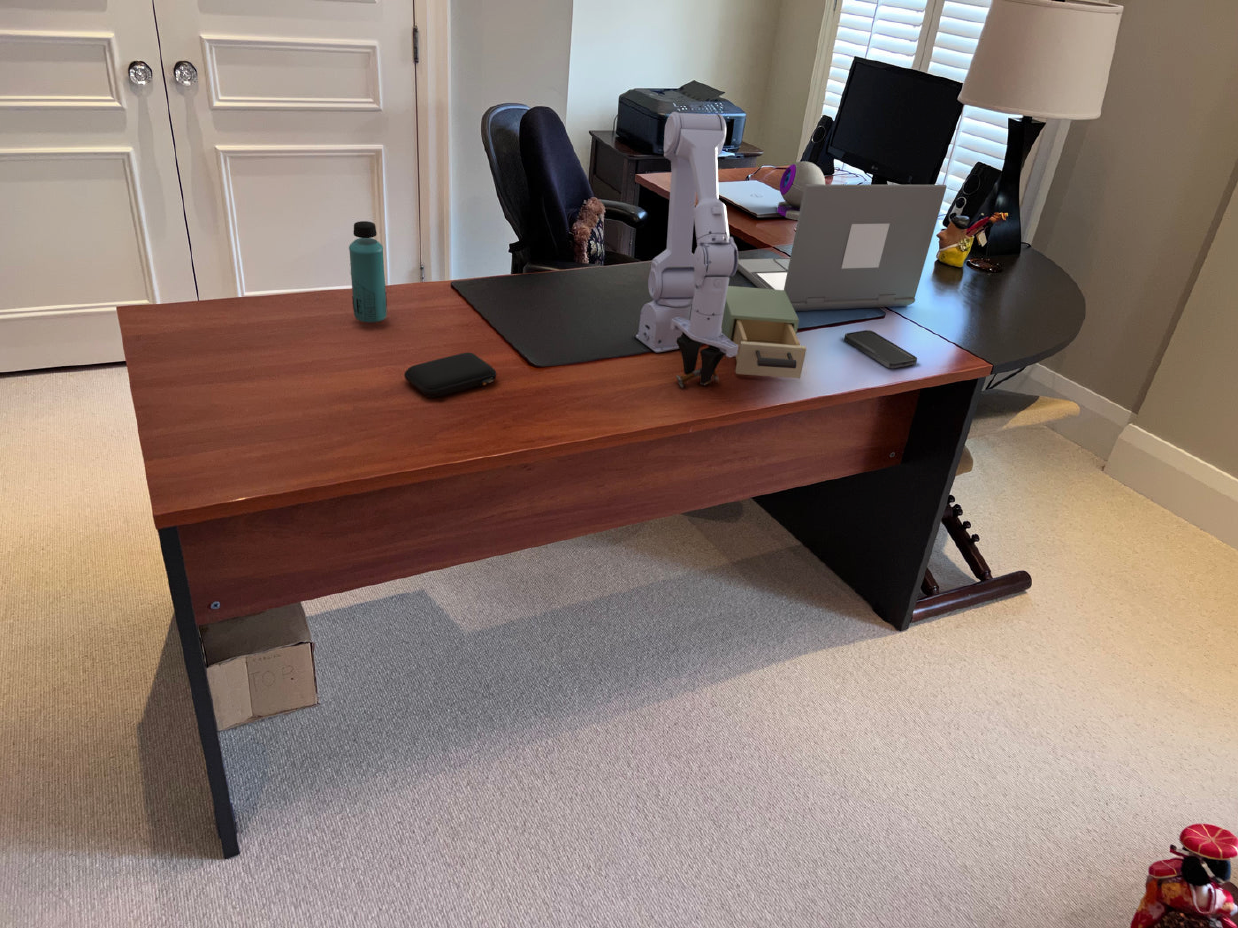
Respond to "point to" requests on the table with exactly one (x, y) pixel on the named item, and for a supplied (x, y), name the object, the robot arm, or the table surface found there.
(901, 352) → the phone
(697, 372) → the wooden post with brackets
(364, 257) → the beverage bottle
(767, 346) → the drawer
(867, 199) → the laptop
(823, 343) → the table surface
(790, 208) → the webcam
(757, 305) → the cabinet
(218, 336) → the table surface
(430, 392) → the carrying case
